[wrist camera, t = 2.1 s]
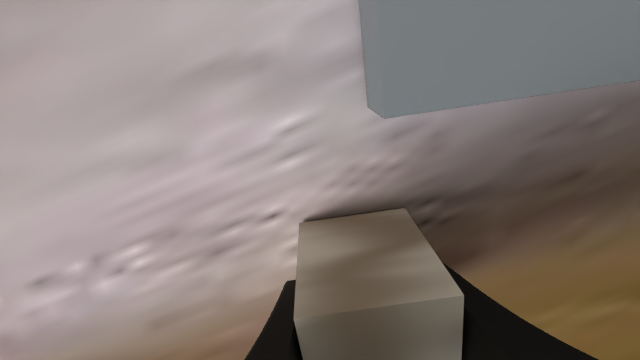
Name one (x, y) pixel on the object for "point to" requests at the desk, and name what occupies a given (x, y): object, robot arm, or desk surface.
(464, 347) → the robot arm
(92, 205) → the desk surface
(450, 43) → the hole board
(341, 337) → the cream square block
